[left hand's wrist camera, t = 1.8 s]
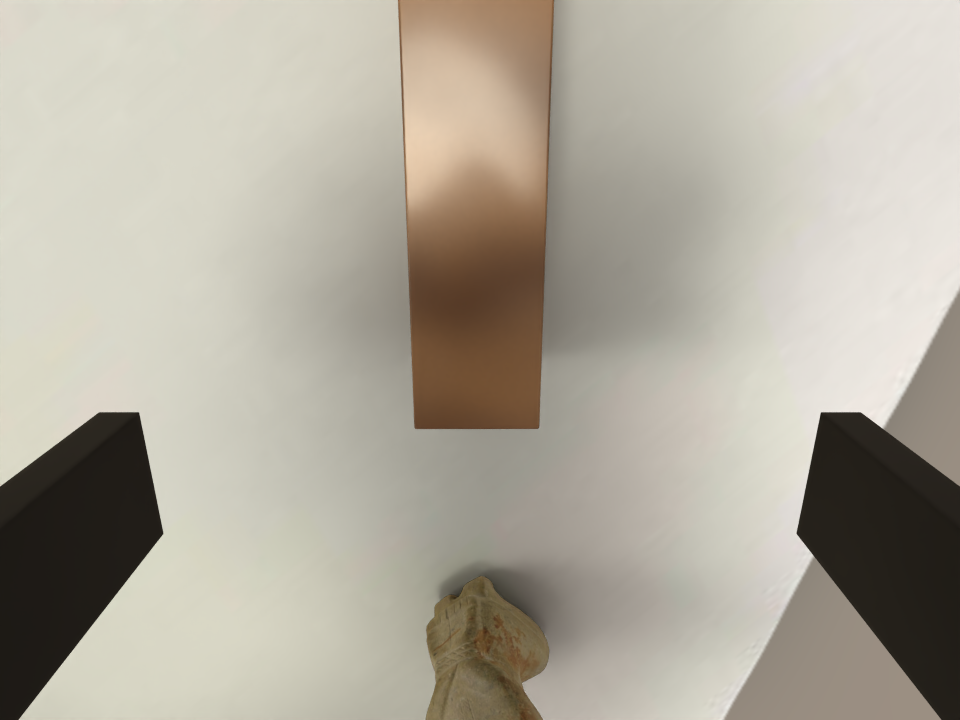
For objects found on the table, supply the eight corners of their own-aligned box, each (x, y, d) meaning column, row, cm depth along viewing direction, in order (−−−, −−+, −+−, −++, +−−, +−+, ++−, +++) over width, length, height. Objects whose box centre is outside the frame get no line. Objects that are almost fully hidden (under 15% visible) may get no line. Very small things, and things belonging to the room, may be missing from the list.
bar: (524, 359, 32) (539, 429, 25) (429, 359, 32) (414, 429, 25) (539, -198, 25) (566, -344, 17) (413, -198, 25) (384, -345, 17)
